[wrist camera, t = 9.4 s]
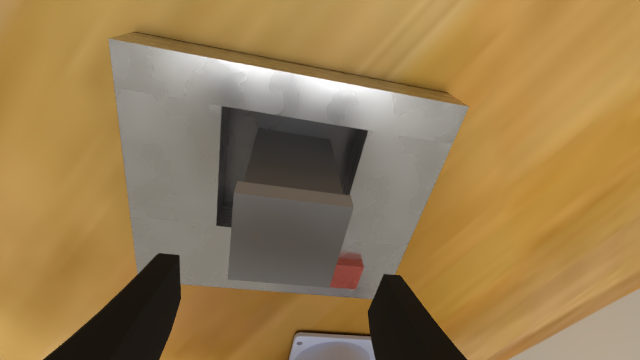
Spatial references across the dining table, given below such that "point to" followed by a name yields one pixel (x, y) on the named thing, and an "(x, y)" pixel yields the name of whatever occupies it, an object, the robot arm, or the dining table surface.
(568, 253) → the dining table surface
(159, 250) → the socket
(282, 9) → the dining table surface
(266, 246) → the plug
